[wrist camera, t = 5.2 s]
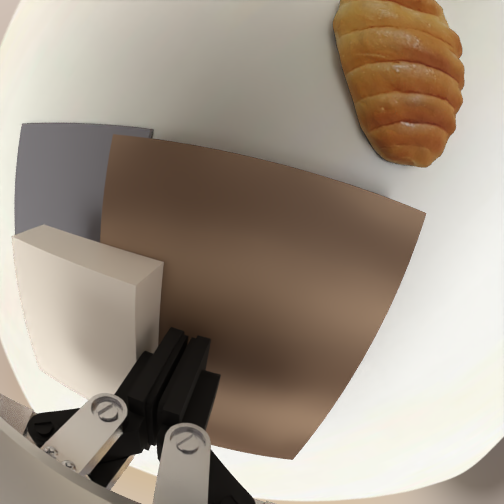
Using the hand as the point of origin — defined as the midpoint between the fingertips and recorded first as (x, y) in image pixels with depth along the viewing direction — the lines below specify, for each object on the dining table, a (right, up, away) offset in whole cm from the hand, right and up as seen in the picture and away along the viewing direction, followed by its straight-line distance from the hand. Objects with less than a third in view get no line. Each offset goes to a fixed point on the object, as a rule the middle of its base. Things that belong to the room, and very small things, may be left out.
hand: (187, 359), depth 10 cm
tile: (-5, +1, +1) cm, 5 cm away
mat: (-10, +4, +5) cm, 12 cm away
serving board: (+2, +1, +5) cm, 5 cm away
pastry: (+10, +14, 0) cm, 17 cm away
